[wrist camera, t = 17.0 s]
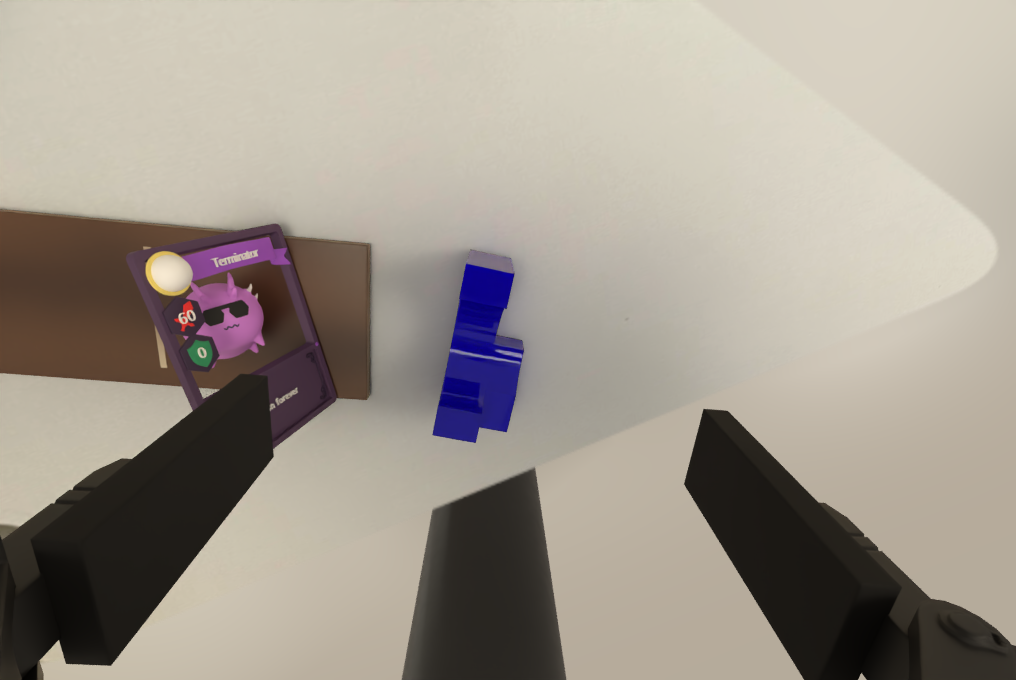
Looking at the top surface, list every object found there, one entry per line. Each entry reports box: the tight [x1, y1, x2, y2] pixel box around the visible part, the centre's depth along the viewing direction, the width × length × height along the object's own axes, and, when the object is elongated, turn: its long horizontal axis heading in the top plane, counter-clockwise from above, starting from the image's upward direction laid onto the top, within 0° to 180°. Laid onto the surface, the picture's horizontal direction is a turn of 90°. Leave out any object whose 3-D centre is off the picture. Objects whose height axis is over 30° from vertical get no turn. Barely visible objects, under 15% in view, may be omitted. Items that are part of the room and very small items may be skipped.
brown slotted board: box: [0, 209, 370, 400], centre depth 23 cm, size 8×20×1 cm, turn 84°
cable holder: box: [433, 249, 524, 443], centre depth 22 cm, size 8×4×4 cm, turn 167°
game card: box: [126, 224, 337, 449], centre depth 21 cm, size 7×5×9 cm
